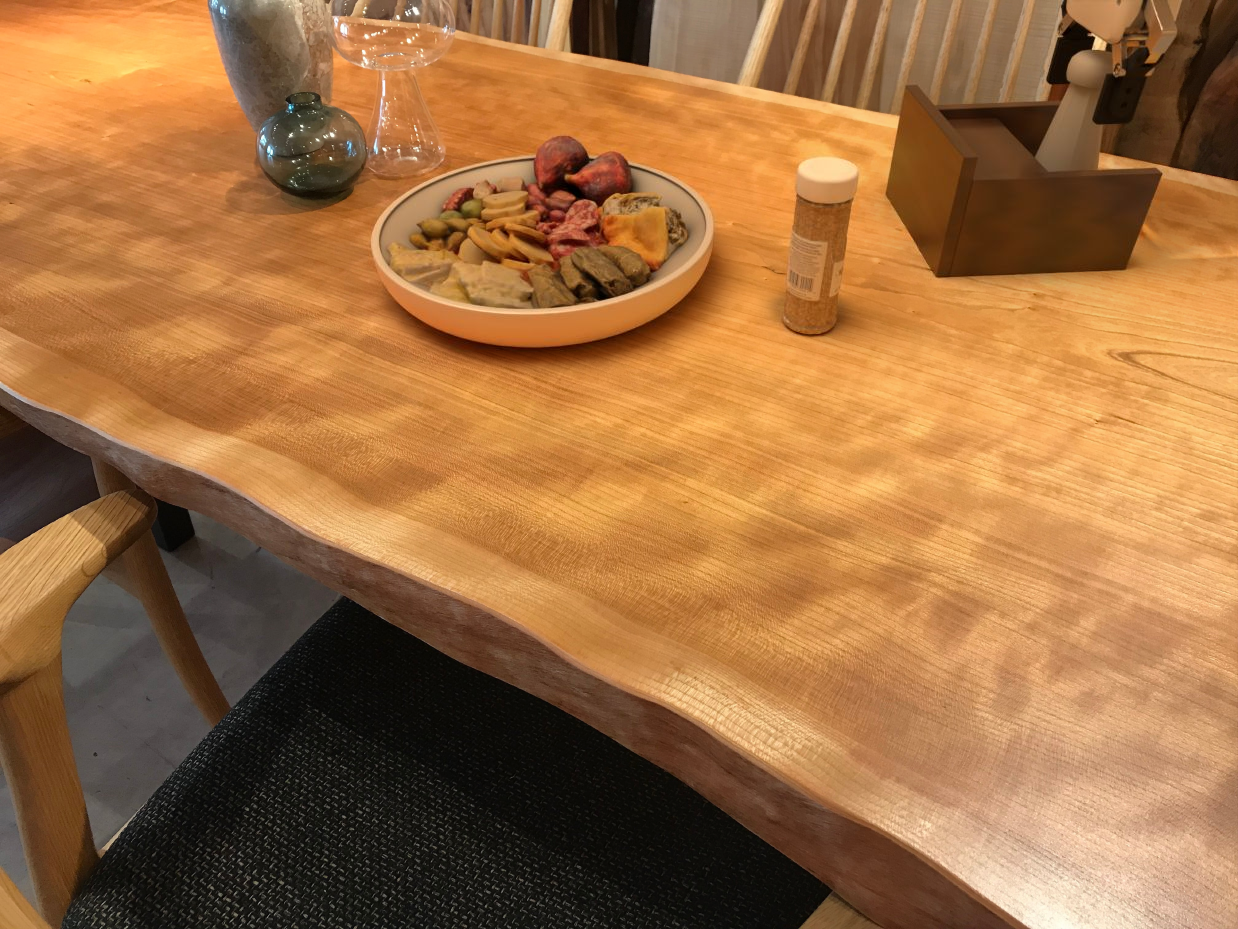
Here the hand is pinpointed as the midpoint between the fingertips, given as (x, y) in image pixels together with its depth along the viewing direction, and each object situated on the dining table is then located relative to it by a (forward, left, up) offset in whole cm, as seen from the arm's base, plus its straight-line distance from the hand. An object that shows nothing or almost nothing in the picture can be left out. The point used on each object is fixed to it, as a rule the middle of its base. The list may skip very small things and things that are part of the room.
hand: (1086, 101), depth 80 cm
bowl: (+48, +5, -12) cm, 50 cm away
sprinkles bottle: (+26, +15, -12) cm, 33 cm away
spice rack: (+4, 0, -12) cm, 13 cm away
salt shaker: (0, 0, -9) cm, 9 cm away
